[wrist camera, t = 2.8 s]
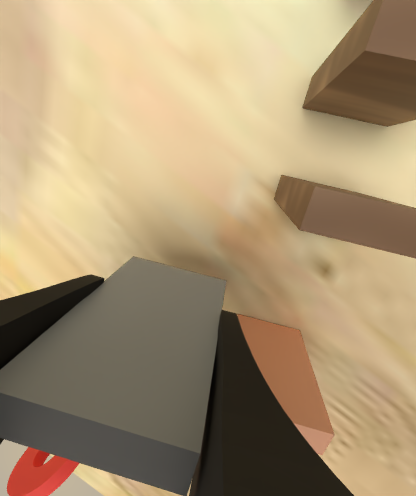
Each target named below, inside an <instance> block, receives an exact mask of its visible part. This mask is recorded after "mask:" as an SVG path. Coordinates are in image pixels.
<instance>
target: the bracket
mask: <svg viewBox="0 0 416 496" xmlns="http://www.w3.org/2000/svg"><path fill="white" fill-rule="evenodd" d="M49 454H50V453H47V452H43V451H40V450H37V449H34V448H31V447H28V449H27V450H26V451H25V452H24V454H23V455H22V457H21V458H20V459H19V461H18V462H17V464H16V466H15V467H14V469H13V471H12V473H11V475H10V478H9V481H8V484H7V492H8V494H9V496H48V495H50V494H51V493H52V492H53V491H55V490H56V489H57V488H58V487H59V486H60V485H61V484H62V483H63V482H64V481H65V480H66V479H67V478H68V477H69V476H70V475H71V473H72V472H73V471H74V470H75V468H76V467H77V466H78V464H79V463H78V462H75V461H72V460H69V459H66V458H62V457H59V456H56V455H55V456H54V457H53V458H52V459H50V460H49V461H48V462H47V463H45V464H44V465H43V463H44V462H45V460H46V458H47V457H48V456H49Z"/></svg>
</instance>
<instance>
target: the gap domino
mask: <svg viewBox="0 0 416 496" xmlns="http://www.w3.org/2000/svg"><path fill="white" fill-rule="evenodd" d="M225 287H226V281H225V280H222V279H218V278H214V277H210V276H206V275H203V274H199V273H195V272H191V271H187V270H184V269H180V268H176V267H172V266H168V265H164V264H161V263H157V262H153V261H149V260H145V259H142V258H138V257H134V256H133V257H132V258H131V259H130V260H129V261H128V262H126V263H125V264H124V265H123V266H122V267H121V268H119V269H118V270H117V271H116V272H115V273H113V274H112V275H111V276H110V277H109V278H108V279H106V280H105V281H104V283H103V284H102V285H100V286H99V287H98V288H97V289H96V290H95V291H93V292H92V293H91V294H90V295H89V296H87V297H86V298H84V299H83V300H82V301H81V302H79V303H78V304H77V305H76V306H75V307H74V308H72V309H71V310H70V311H69V312H68V313H66V314H65V315H64V316H63V317H62V318H61V319H59V320H58V321H57V322H56V323H55V324H54V325H52V326H51V327H50V328H49V329H48V330H47V331H45V332H44V333H43V334H42V335H41V336H39V337H38V338H37V339H36V340H35V341H34V342H32V343H31V344H30V345H29V346H28V347H27V348H25V349H24V350H23V351H22V352H21V353H19V354H18V355H17V356H16V357H15V358H14V359H12V360H11V361H10V362H9V363H8V364H7V365H5V366H4V367H3V368H2V369H1V370H0V438H2V439H5V440H9V441H12V442H15V443H18V444H21V445H24V446H28V447H31V448H34V449H37V450H40V451H43V452H47V453H50V454H53V455H56V456H59V457H62V458H66V459H69V460H72V461H75V462H78V463H81V464H85V465H88V466H91V467H94V468H97V469H100V470H104V471H107V472H110V473H113V474H116V475H119V476H123V477H126V478H129V479H132V480H135V481H138V482H142V483H145V484H148V485H151V486H154V487H157V488H161V489H164V490H167V491H170V492H173V493H176V494H180V495H183V496H187V493H188V490H189V487H190V484H191V481H192V478H193V475H194V471H195V468H196V465H197V462H198V459H199V456H200V452H201V446H202V439H203V433H204V426H205V419H206V413H207V406H208V399H209V393H210V386H211V379H212V373H213V366H214V360H215V353H216V346H217V340H218V326H219V320H220V314H221V310H222V306H223V300H224V293H225Z"/></svg>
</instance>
